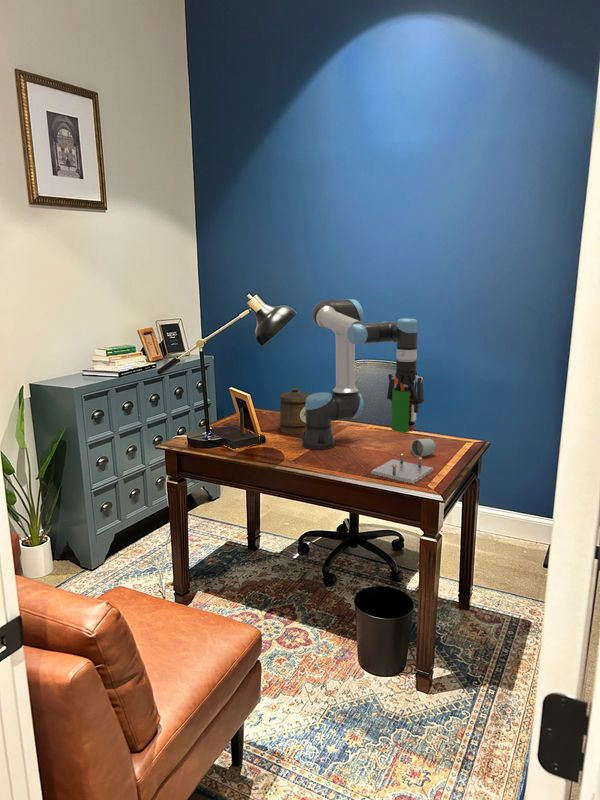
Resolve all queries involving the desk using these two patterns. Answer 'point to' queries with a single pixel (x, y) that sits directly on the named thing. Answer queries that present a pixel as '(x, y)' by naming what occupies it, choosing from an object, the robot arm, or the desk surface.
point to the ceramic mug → (423, 447)
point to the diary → (236, 436)
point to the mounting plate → (403, 470)
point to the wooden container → (293, 412)
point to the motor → (402, 409)
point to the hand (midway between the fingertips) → (404, 419)
